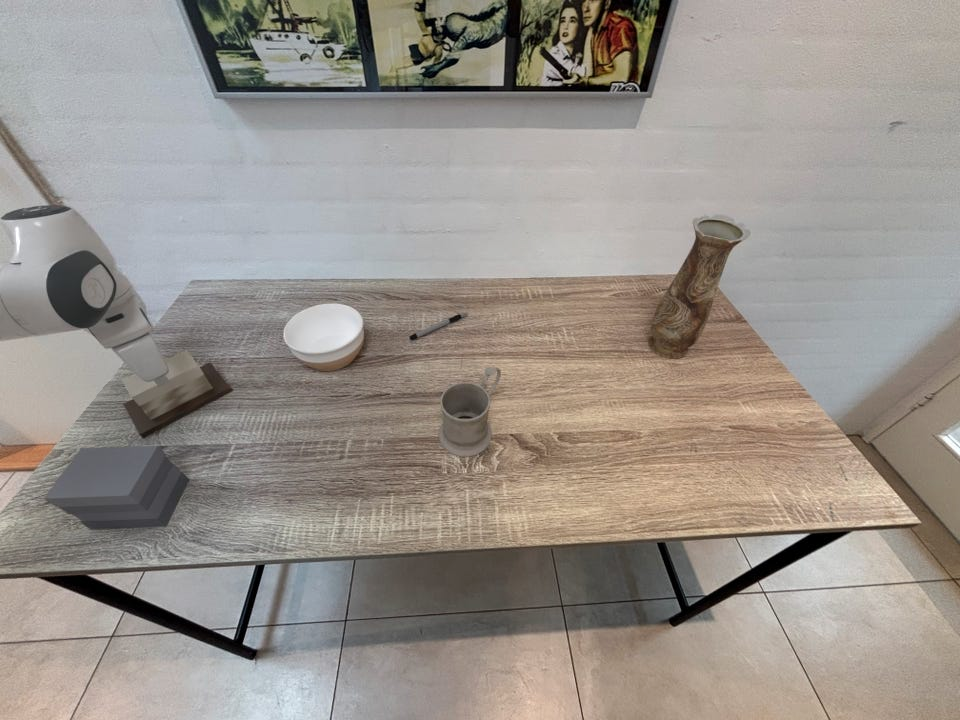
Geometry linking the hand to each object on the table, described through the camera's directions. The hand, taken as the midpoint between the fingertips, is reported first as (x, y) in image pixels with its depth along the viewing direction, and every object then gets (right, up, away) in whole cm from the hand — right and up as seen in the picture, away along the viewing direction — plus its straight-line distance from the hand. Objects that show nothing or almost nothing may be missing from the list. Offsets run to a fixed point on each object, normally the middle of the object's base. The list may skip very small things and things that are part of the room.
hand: (154, 369), depth 74 cm
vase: (+103, +5, +21) cm, 105 cm away
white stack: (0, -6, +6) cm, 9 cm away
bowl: (+26, +3, +17) cm, 31 cm away
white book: (0, -2, +3) cm, 4 cm away
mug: (+58, -11, +4) cm, 59 cm away
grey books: (+5, -21, -9) cm, 24 cm away
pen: (+49, +9, +24) cm, 56 cm away
